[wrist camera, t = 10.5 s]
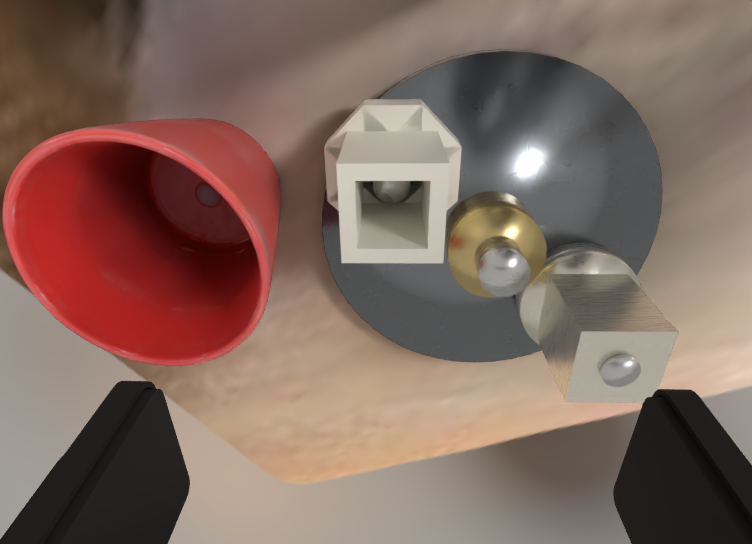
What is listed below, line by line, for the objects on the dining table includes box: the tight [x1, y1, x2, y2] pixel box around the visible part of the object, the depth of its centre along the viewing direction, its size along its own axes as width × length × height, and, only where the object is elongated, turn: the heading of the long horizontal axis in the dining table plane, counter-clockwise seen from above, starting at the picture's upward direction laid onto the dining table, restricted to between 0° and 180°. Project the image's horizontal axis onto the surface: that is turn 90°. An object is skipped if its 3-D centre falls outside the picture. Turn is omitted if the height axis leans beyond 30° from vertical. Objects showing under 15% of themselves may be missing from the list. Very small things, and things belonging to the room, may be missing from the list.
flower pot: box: [3, 119, 281, 366], centre depth 24 cm, size 11×11×10 cm
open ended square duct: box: [324, 99, 462, 263], centre depth 23 cm, size 7×7×7 cm
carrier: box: [322, 49, 678, 403], centre depth 25 cm, size 19×19×8 cm
